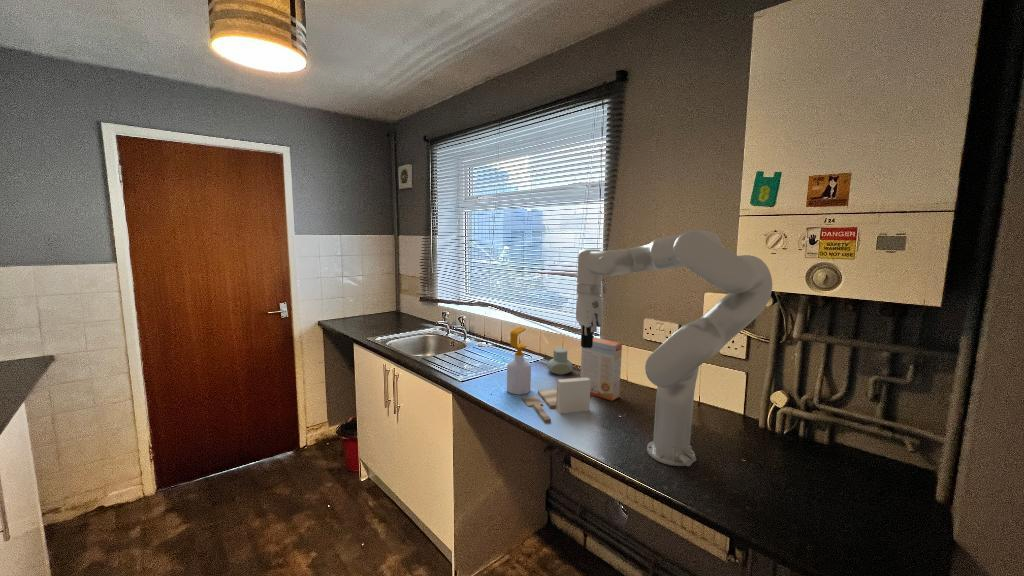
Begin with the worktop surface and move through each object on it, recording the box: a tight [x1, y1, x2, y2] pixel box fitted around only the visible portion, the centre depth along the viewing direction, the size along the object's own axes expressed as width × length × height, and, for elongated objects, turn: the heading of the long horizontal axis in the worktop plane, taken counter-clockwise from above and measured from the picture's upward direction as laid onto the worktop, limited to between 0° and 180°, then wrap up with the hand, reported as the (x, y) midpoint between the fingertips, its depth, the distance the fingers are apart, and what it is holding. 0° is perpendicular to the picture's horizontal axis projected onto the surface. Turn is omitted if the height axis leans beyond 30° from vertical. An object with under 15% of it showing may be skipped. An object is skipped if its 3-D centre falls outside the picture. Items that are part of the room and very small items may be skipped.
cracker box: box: [580, 336, 623, 402], centre depth 159 cm, size 14×6×21 cm, turn 48°
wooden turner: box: [522, 395, 552, 424], centre depth 146 cm, size 20×6×1 cm, turn 15°
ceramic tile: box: [555, 376, 591, 415], centre depth 145 cm, size 3×11×11 cm, turn 105°
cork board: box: [537, 388, 557, 409], centre depth 156 cm, size 14×14×1 cm
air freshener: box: [546, 348, 574, 376], centre depth 183 cm, size 11×8×10 cm
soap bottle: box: [506, 326, 532, 396], centre depth 161 cm, size 9×9×25 cm
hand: (586, 346), depth 134 cm, fingers closed
